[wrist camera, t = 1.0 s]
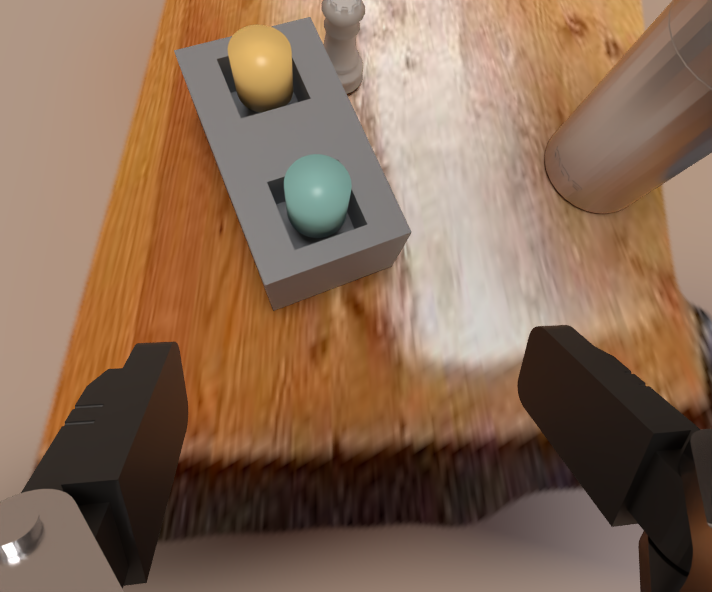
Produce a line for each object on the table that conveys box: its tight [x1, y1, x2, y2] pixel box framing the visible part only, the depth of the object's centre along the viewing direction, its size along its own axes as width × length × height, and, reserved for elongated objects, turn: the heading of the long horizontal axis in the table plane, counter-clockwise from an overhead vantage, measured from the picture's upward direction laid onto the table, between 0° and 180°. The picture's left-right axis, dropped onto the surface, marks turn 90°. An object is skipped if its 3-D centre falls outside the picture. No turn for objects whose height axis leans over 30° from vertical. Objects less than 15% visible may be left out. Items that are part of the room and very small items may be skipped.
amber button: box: [228, 25, 293, 113], centre depth 30 cm, size 4×4×4 cm
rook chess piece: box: [322, 0, 365, 94], centre depth 36 cm, size 4×4×8 cm
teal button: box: [284, 154, 352, 238], centre depth 28 cm, size 4×4×4 cm
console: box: [174, 17, 411, 311], centre depth 33 cm, size 10×18×7 cm, turn 23°
